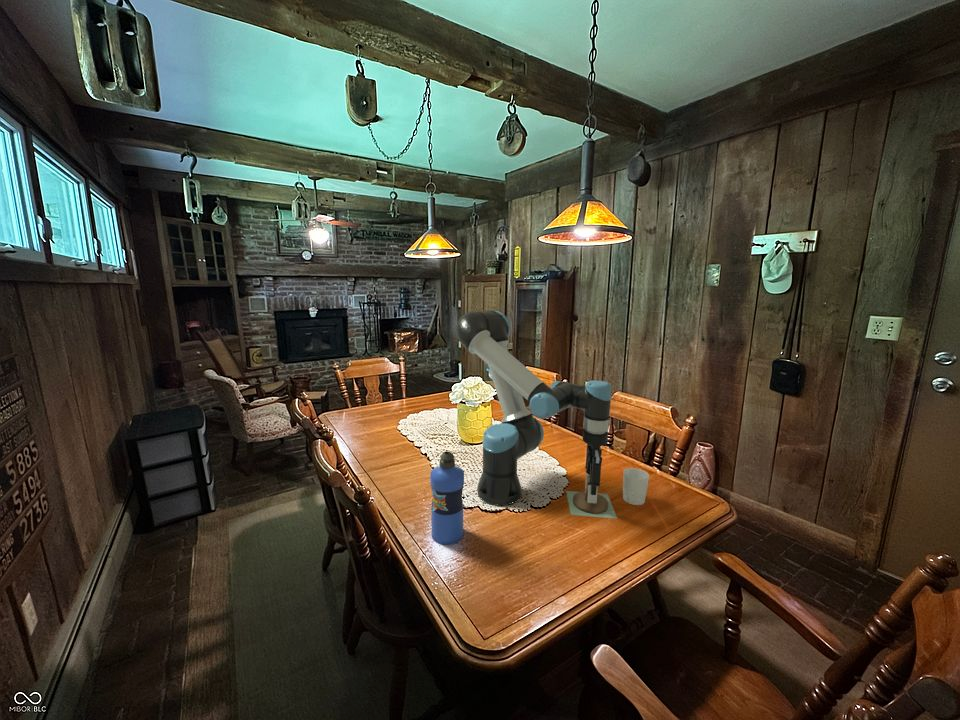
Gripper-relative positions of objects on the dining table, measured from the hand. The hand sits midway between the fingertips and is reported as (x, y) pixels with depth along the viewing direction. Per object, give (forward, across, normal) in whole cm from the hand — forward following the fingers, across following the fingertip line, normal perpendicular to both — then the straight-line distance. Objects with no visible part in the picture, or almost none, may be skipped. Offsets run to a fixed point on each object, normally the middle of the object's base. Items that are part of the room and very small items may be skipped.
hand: (590, 497), depth 121 cm
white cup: (+3, +5, -15) cm, 16 cm away
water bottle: (+3, -21, +43) cm, 48 cm away
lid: (+2, 0, 0) cm, 2 cm away
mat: (+3, 0, 0) cm, 3 cm away
